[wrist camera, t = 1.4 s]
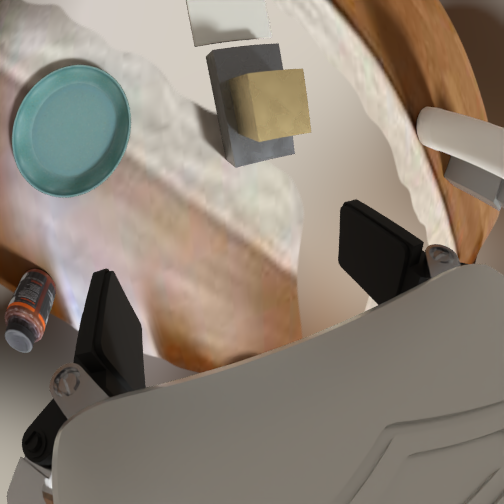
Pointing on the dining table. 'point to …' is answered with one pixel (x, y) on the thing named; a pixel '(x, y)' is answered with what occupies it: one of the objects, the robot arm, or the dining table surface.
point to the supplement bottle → (29, 310)
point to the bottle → (463, 138)
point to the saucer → (71, 131)
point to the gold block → (271, 104)
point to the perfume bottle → (476, 182)
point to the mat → (228, 20)
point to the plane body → (221, 70)
